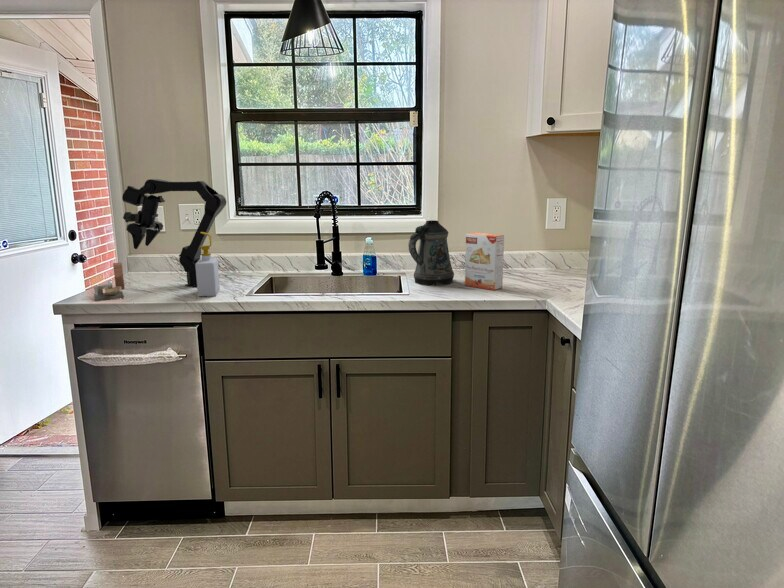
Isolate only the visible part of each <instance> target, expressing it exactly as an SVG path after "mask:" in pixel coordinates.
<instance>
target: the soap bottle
mask: <svg viewBox="0 0 784 588" xmlns="http://www.w3.org/2000/svg"><path fill="white" fill-rule="evenodd" d="M200 233H201V234H204V235H207V236H208V238H209V245H202V246H200V248H201V251H202V250H203V253H202V252H201V256H200V257H201V258H200V260H199V261H198V262H197V263H196V265H195V267H196V278H197V287H196V289H197V297H199V296H207V297H216V296H217V295H218V293H219V291H220V290H221V289H220V287H221V286H220V274H219V262H218V261H219V260H218V258H216V257H212V255H211V252H209V250H210V247H212V245H213V244H212V243H213V240H212V239H213V238H212V235H211V234H210V233H205V232H200Z"/></svg>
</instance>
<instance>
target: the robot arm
mask: <svg viewBox="0 0 784 588" xmlns="http://www.w3.org/2000/svg"><path fill="white" fill-rule="evenodd" d="M169 192H197V194H198V195H199V196H200V198H201V199H203V201H204V202H205V203H204V211H203V212H204V213H203V216H202V218H201V219H200V220H201V221H200V222H199V225H198V227H197V229H196V231H195V232H194V235H193V238H192V239H191V242H190V244H189V245H186V246H184V247H182V249H181V251H180V254H179V255H178V257H179V258H178V262H179V263H180V266H181V267H183V270H184V271H185V273H186V280H187V281H186V283H185V284H184V286H185V287H191V286H193V287H192V288H197V278H196V267H195V265H196V263H197V262H198V261H199V260H200V259H201V257H202V256H201V254H202V248H200V246H204V243H205V241H206V239H207V236H208V235H204V234H201V233H200V232H205V233H209V232H210V230H211V228H212V226H213V224H214V221H215V220H216V218H217V217H218V215H220V213H221V212H222V211H223V209H224V208H225V207H226V206H227V200H226V199H227V198H226V197H225V196H224V195H223V194H221V193H219V192H218V191H217V190H215V189H214V188H212V187H211V186H209V185H208V184H207V183H206V182H205V181H204V180H196V181H170V180H165V179H159V178H152V179H151V178H150V179H147V180H146V181H145V182H144V185H143V186H142V187H140V188H136V187H134V186H131V185H127V188H126V189H125V190H124V192H123V193H122V195H121V196H122V197H121V198H122V201H123V203H125V204H126V203H127V204H130V205H133V206H135V207H140V206H141V210H138V211H137V213H132V212H131V211H129V212H128V211H125V212H124V214H123V216H122V218H123V220H124V221H125V223H129V224H127V225H126V231H127V232H128V233H130V235H131V237H132V243H133V248H134V249H135V250H137V249H138V248H139V247H140V245H141V243H142V242H143V240H144V239H145V246H146V247H148V246H150V245H151V243H152V242H153V240H154V239H156V237H157V236H158V235H159V234H160V233H161V231H163V228H164V225H163V223H162V222H159V221H157V220H156V218H158V217H159V214H158V208H159V205H160V204H161V203H166V200H165V199H164V197H163V196H162V195H158V194H164V193H169ZM147 194H148V195H147ZM157 195H158V196H157ZM130 222H131V223H130ZM209 234H210V233H209Z"/></svg>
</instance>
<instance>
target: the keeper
mask: <svg viewBox="0 0 784 588" xmlns="http://www.w3.org/2000/svg"><path fill="white" fill-rule="evenodd" d="M112 281H113V280H107V281H106V282H107V283H104V284H98V285H94V286H93V292H94V294H95V295H96V296H100V295H103V293H104V292H103V290H105V289H106V288H112V287H113V282H112Z"/></svg>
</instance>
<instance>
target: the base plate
mask: <svg viewBox="0 0 784 588" xmlns="http://www.w3.org/2000/svg"><path fill="white" fill-rule="evenodd" d="M93 295H94V296H93V297H94V302H98V301H99V302H100V301H101V300H102V301H110V299H112V300H120V298H121V299H124V297H125V296H124V293H123V290H120V291H119V292H117V293H116V294H115V295H106V293H105V292H103V295H100V296H96V295H95V293H94V294H93ZM102 301H101V302H102Z"/></svg>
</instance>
